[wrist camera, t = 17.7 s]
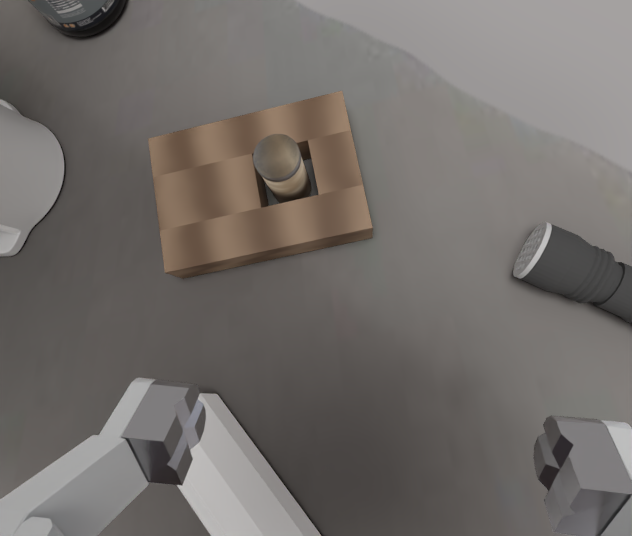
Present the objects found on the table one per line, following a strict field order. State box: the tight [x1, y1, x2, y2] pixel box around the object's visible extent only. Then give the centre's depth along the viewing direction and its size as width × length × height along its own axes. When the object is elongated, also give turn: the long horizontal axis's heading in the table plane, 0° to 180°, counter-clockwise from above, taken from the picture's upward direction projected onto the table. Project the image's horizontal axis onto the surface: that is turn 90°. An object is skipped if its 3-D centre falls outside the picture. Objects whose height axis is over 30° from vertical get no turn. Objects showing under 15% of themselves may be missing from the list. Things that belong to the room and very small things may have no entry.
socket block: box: [148, 91, 373, 278], centre depth 43 cm, size 20×14×4 cm
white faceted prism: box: [177, 393, 321, 536], centre depth 38 cm, size 7×7×24 cm
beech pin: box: [253, 134, 311, 203], centre depth 41 cm, size 4×4×8 cm
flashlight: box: [513, 222, 632, 323], centre depth 37 cm, size 15×5×5 cm, turn 63°
